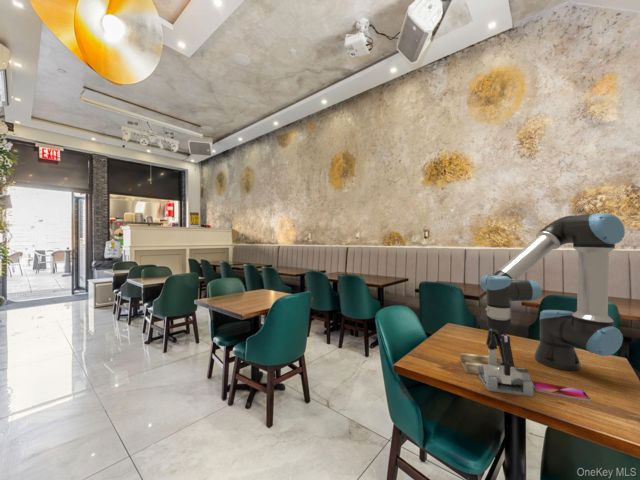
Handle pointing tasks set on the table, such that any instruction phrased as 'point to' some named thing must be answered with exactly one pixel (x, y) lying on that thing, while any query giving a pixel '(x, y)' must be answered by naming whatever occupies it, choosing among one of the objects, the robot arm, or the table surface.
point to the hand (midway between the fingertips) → (499, 374)
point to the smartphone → (561, 391)
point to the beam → (475, 362)
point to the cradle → (507, 386)
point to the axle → (495, 371)
